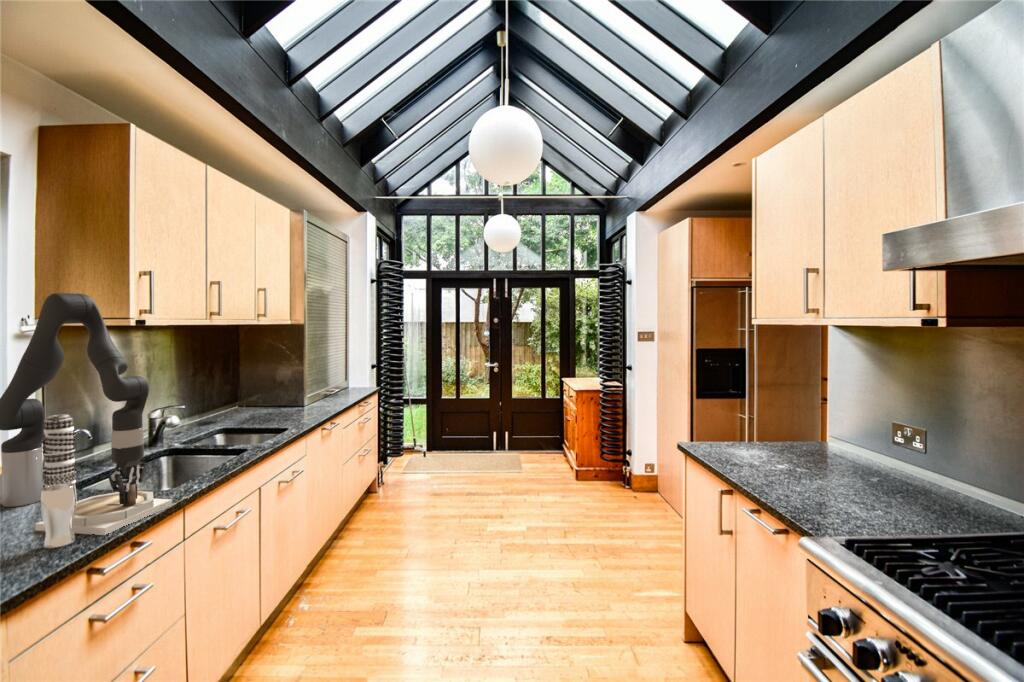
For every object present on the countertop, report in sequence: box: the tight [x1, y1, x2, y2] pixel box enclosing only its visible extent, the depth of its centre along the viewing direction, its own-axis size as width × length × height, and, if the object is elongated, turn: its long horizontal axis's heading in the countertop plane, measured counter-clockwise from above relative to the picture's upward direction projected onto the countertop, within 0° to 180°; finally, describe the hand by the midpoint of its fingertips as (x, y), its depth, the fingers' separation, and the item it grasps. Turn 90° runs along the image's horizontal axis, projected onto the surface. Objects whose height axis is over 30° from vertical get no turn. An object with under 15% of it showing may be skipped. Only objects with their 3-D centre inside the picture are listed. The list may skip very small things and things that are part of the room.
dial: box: [75, 483, 144, 516], centre depth 143 cm, size 17×17×8 cm
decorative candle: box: [42, 413, 77, 487], centre depth 173 cm, size 9×9×25 cm
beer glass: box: [39, 482, 78, 549], centre depth 126 cm, size 7×7×15 cm
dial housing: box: [35, 490, 173, 536], centre depth 143 cm, size 22×22×4 cm
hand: (128, 501), depth 143 cm, fingers closed on dial, 3 cm apart
